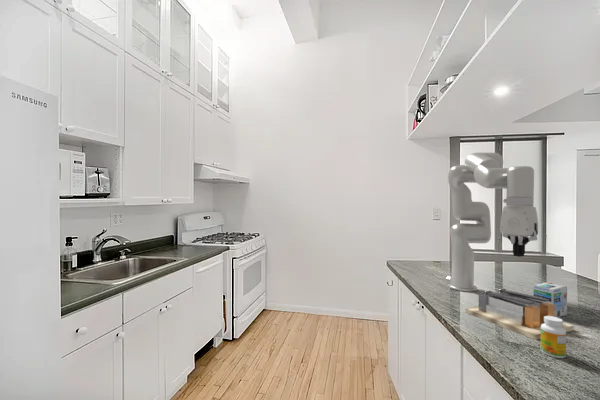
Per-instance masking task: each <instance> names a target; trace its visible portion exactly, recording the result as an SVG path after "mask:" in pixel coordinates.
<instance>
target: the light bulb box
mask: <svg viewBox="0 0 600 400" xmlns="http://www.w3.org/2000/svg"><path fill="white" fill-rule="evenodd" d="M533 296H536V297H541V298H546V299H549V301H547V302H545V303H550V304H554V305H555V317H557V318H560V317H562V316H567V315H568V286H567V285H562V284H558V283H552V282H549V281H546V282H541V283H537V284H533ZM538 301H539V300H538ZM542 302H543V301H542Z"/></svg>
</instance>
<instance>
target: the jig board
mask: <svg viewBox="0 0 600 400" xmlns="http://www.w3.org/2000/svg"><path fill="white" fill-rule="evenodd" d="M465 313H466V314H469V315H471V316H474V317H477V318H479V319H482V320H483V321H486V322H490V323H491V324H494V325H496V326H499V327H502V328H505V329H507V330H510V331H512V332H515V333H517V334H520V335H523V336H526V337H527V338H530V339H532V340H541V325H542V324H543V323H540V327H537V328H530V327H527V326H525V325H523V326H521V325H518V324H515V323H512V322H510V321H507V320H504V319H501V318H499V317H496V316H493V315H490V314H488V313H485V312H482V311H479V305H477V306H473V307H472V306H471V307H466V308H465ZM562 327H563V328H564V329H565V330H566V333H567V332H571V331H574V329H575V326H574V325H573V324H570V323H567V322H564V321H563V326H562Z"/></svg>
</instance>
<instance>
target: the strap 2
mask: <svg viewBox="0 0 600 400" xmlns="http://www.w3.org/2000/svg"><path fill="white" fill-rule="evenodd" d="M497 292H499V293H502V292H503V293H508V294H512V295H517V296H521V297H525V298H530V299H534V300H539V301H543V302H547V301H549V299H546V298H541V297H536V296H534V295H531V294H526V293H523V292H517V291H512V290H508V289H506V288H500V289H498V291H497Z"/></svg>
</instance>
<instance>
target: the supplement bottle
mask: <svg viewBox="0 0 600 400" xmlns="http://www.w3.org/2000/svg"><path fill="white" fill-rule="evenodd" d="M544 322H545V323H544V324H542V325H541V339H540V348H539V349H540V351H541V352H542V354H545V355H547V356H549V357H552V358H557V359H564V358H566V355H567V332H566V330H565V329H564V328H563V327H562V326H563V322H564V320H563V319H562V318H560V317H553V316H544Z"/></svg>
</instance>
